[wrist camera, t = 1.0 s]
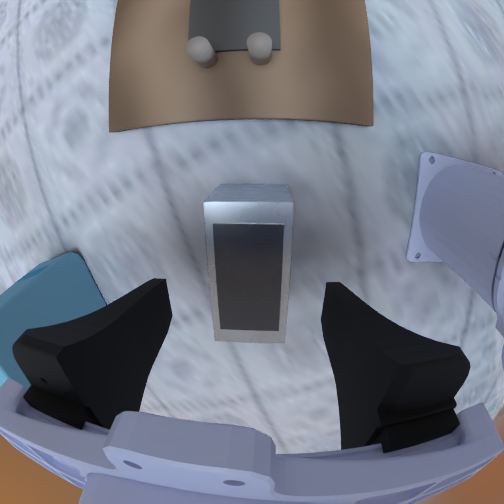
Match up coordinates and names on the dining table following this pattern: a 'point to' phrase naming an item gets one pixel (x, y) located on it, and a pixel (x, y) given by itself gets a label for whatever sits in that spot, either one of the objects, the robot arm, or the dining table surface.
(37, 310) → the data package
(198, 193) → the dining table surface
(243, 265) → the block
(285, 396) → the dining table surface
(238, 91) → the pin tray
